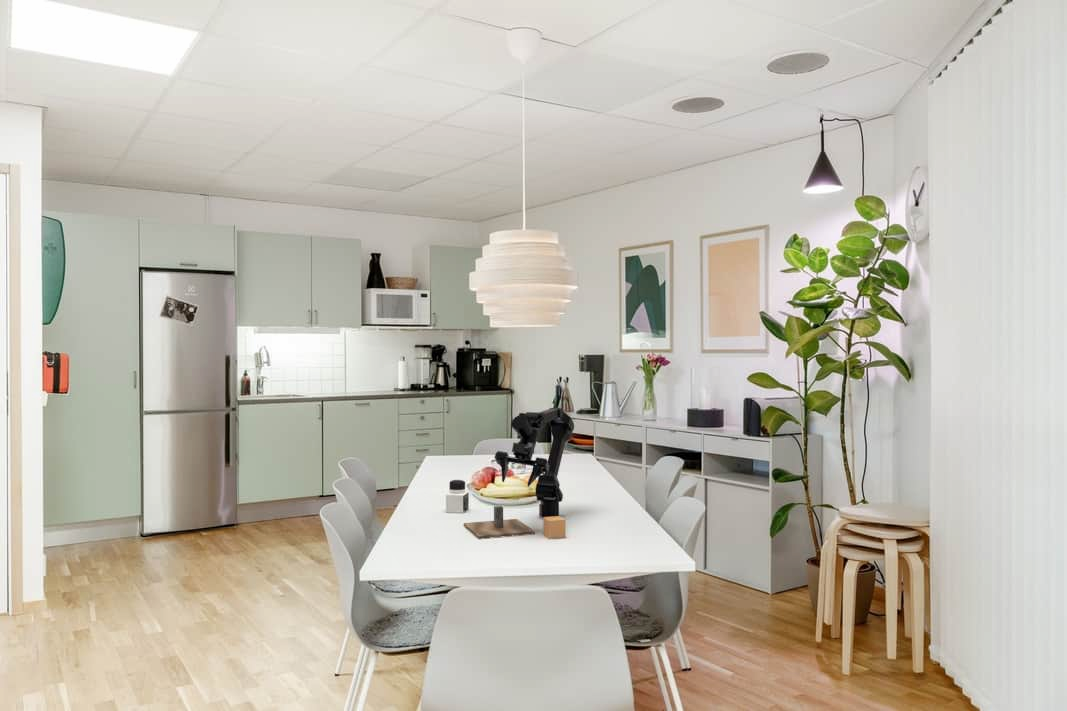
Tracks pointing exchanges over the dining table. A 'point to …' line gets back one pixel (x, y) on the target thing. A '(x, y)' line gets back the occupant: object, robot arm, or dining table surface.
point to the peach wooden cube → (554, 527)
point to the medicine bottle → (457, 497)
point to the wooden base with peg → (498, 526)
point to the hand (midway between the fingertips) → (515, 483)
